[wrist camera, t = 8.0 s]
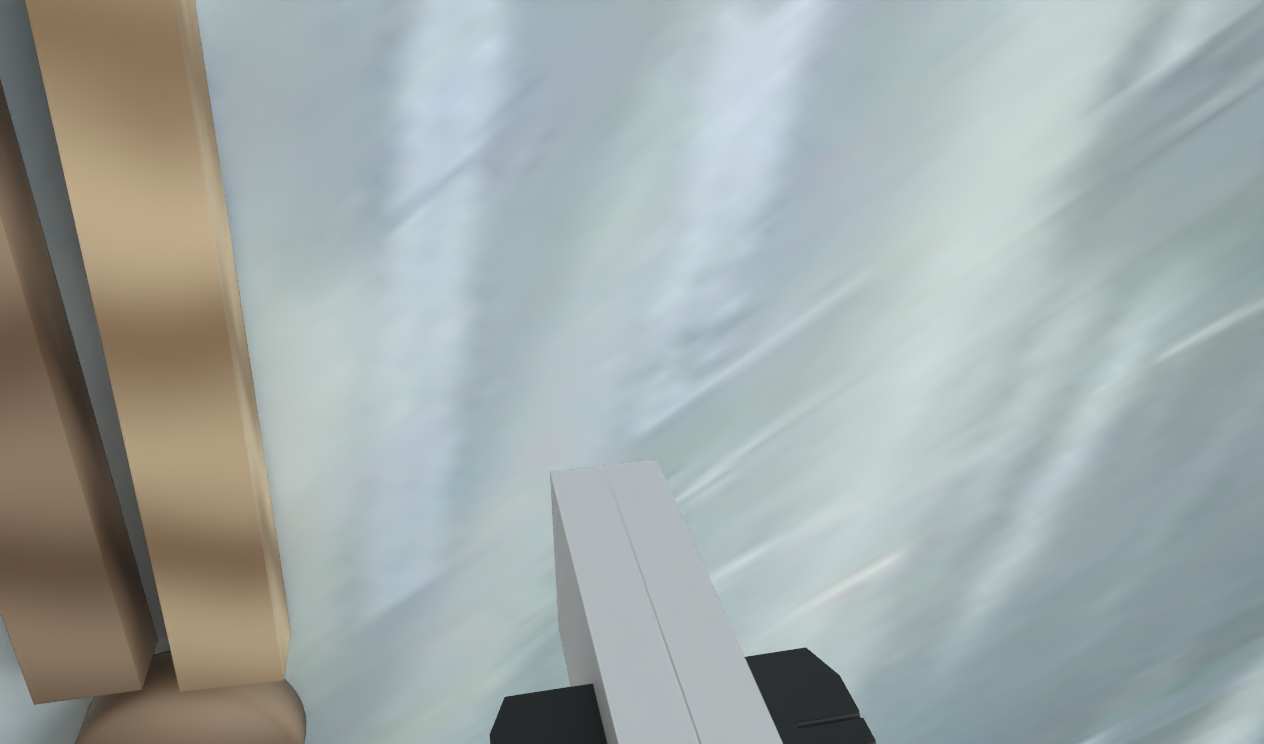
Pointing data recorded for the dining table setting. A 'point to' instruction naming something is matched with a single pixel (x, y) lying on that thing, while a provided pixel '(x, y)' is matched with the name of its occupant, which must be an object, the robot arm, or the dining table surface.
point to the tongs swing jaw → (170, 322)
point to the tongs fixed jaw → (85, 530)
